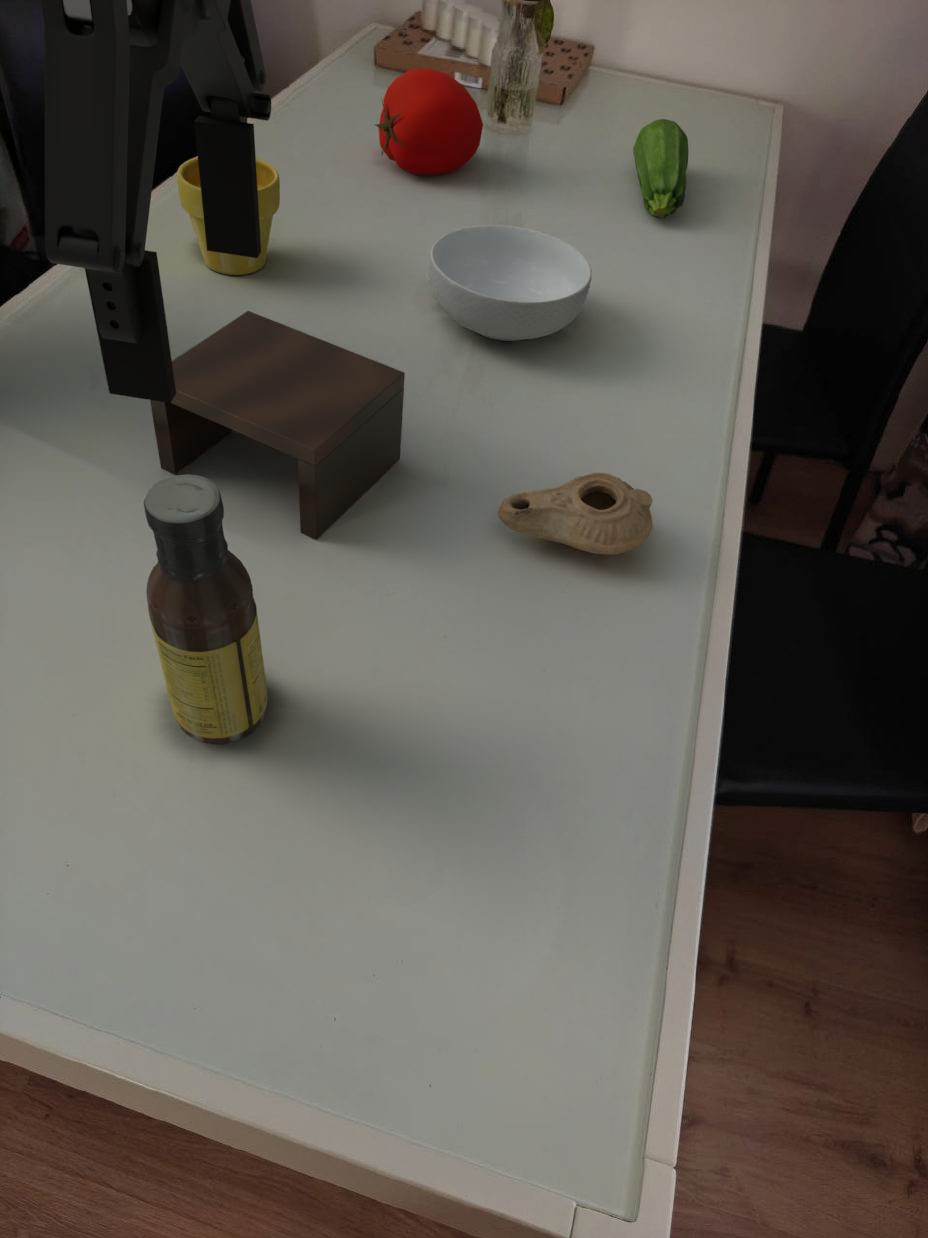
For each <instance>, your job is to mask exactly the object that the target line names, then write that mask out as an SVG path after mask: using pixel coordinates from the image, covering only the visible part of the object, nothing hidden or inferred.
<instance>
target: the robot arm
mask: <svg viewBox="0 0 928 1238" xmlns="http://www.w3.org/2000/svg"><path fill="white" fill-rule="evenodd" d="M40 4H41V11H42V19H43V26H44V31H43V32H44V34H43V35H44V40H43V41H44V44H43V45H44V250H45V255H46V258H47V260H48V262H50V263H51V264H55V265H62V266H68V267H69V266H70V267H74V268H81V269H84V272H85V277H86V281H87V286H88V292H89V297H90V302H91V307H92V313H93V317H94V323H95V328H96V332H97V337H98V338H97V339H98V343H99V347H100V353H101V358H102V362H103V368H104V373H105V378H106V383H107V389H108V394H109V395H115V396H121V397H127V398H128V397H129V398H133V399H135V398H136V399H140V400H148V401H150V400H153V401H160V402H166V403H171V402H172V400H173V398H174V397H175V395H176V388H175V381H174V373H173V366H172V361H173V360H172V352H171V346H170V339H169V331H168V330H169V329H168V324H167V315H166V309H165V302H164V295H163V287H162V280H161V273H160V267H159V260H158V254H157V251H152V250H146V244H147V242H146V241H147V234H148V226H149V217H150V209H151V200H152V193H153V192H152V191H153V185H154V184H153V183H154V174H155V167H156V166H155V165H156V159H157V157H156V156H157V149H158V148H157V147H158V143H159V142H158V141H159V132H160V125H161V124H160V123H161V118H162V117H161V115H162V109H163V100H164V99H163V98H164V91H165V89H166V87H168V86H169V85H172V84H173V83H175V81H176V80H177V79H178V77H179V74H180V68H181V69H182V71H183V73H184V75H185V77H186V79H187V81H188V83H189V86H190V87H191V89H192V90H191V91H192V92H193V94H194V96H195V98H196V100H197V102H198V104H199V106H200V108H201V110H202V112H207V113H210V116H211V117H210V116H203V115H198V116H197V118H196V119H195V120H194V121H193V125H194V133H195V135H194V136H195V145H196V154H197V157H198V165H199V175H200V185H201V195H202V205H203V215H204V225H205V235H206V245H207V251H213V252H219V253H226V254H233V255H239V256H246V257H252V258H258V256H259V255H260V253H261V240H260V223H259V206H258V189H257V172H256V158H257V156H256V140H255V124H254V123H250V122H248V119H252V120H253V119H254V120H261V121H269V120H270V118H271V114H272V97H271V94H265V93H259V92H263V91H264V88H265V85H266V83H267V72H266V67H265V63H264V59H263V54H262V50H261V45H260V40H259V39H260V38H259V33H258V29H257V24H256V21H255V15H254V10H253V4H252V0H40ZM242 57H243V58H242Z"/></svg>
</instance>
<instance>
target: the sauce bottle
mask: <svg viewBox="0 0 928 1238" xmlns="http://www.w3.org/2000/svg"><path fill="white" fill-rule="evenodd" d="M143 509H144V515H145V518H146V521H147V525H148V527H149V528H150V530H151V531H152V532H153V537H154V541H155V546H156V557H157V558H156V559H157V563H156V564H155V565H154V566H153V567H152V569H151V571H150V573H149V576H148V579H147V582H146V601H147V611H148V616H149V620H150V626H151V629H152V633H153V637H154V641H155V646H156V649H157V653H158V658H159V661H160V665H161V670H162V674H163V678H164V682H165V685H166V690H167V694H168V699H169V704H170V707H171V711H172V714H173V717H174V718H175V720H176V722H177V723H178V725H179V728H180V730H181V731H183V733H184V734H185V735H187V736H189V737H190V738H192V739H194V740H197V741H199V742H201V743H205V744H211V745H224V744H229V743H233V742H238V741H240V740H242V739H244V738H246V737H248V736H251V735H253V733H254V732H256V731H257V729H258V728H259V727H260V726H261V724H262V722H263V720H264V719H265V716H266V713H267V708H268V699H269V698H268V697H269V696H268V688H267V687H268V686H267V681H266V680H267V679H266V672H265V663H264V657H263V649H262V641H261V640H262V639H261V632H260V625H259V624H260V623H259V615H258V607H257V604H256V600H255V598H254V589H253V584H252V580H251V576H250V575H249V574H250V573H249V572H248V570H247V568H246V567H245V565H244V564H243V562H242V561H241V560H240V559H239V558H238V557H237V556H236V555H235V554H234V553H233V552H231V551H230V550H229V544H228V542H227V540H226V538H225V533H224V527H223V519H224V515H225V508H224V504H223V499H222V494H221V491H220V489H219V487H218V486H217V485H216V484H215V483H214V482H213V481H211V480H210V479H209V478H207V477H205V476H201V475H197V474H176V475H173V476H169V477H165V478H162V479H161V480H159V481H157V482H155V483H154V484H153V485H152V486H151V487H150V488H149V489H148V490H147V493H146V495H145V497H144V499H143Z"/></svg>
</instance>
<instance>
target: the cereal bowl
mask: <svg viewBox="0 0 928 1238" xmlns="http://www.w3.org/2000/svg"><path fill="white" fill-rule="evenodd" d="M428 270H429V271H428V272H429V273H428V277H429V284H430V288H431V291H432V295H433V296H434V300H435V301H436V302H437V304H438V306H440V309H441V310H443V311H444V313H445V314H447V316H449V318H451V319H452V320H453V321H455V322H456V323H457V324H459V325H461V326H462V327H463V328H466V329H468V330H470V331H473V332H475V333H476V334H479V335H481V336H483V337H485V338H488V339H490V340H494V341H502V342H518V341H522V340H533V339H539V338H542V337H545V336H550V335H553V334H555V333H556V332H558V331H561V330H562V329H564V328H566V326H568V325H569V324H570V323H571V322H573V321H574V320H575V318H576V317H577V316H578V315H579V313H580V312H581V310H582V309H583V307H584V305H585V302H586V300H587V297H588V294H589V292H590V288H591V282H592V280H593V279H592V268H591V265H590V262H589V261H588V259H587V258H586V257H585V255H584V254H583V253H581V252H580V251H579V250H578V249H577V248H575V247H574V246H572V245H571V244H569V243H568V242H566V241H564V240H562V239H560V238H558V237H556V236H554V235H551V234H548V233H546V232H543V231H539V230H536V229H531V228H526V227H521V226H514V225H507V224H506V225H505V224H504V225H502V224H482V225H472V226H465V227H461V228H458V229H454V230H451V231H449V232H447V233H445V234H443V235H442V236H440V237H439V238H437V240H435V242H434V243H433V244H432V246H431V248H430V252H429V259H428Z"/></svg>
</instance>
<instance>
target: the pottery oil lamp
mask: <svg viewBox="0 0 928 1238" xmlns="http://www.w3.org/2000/svg"><path fill="white" fill-rule="evenodd" d="M653 499H654V498H653V497H652V495H651V494H650V493H649V491H646V490H643V489H640V488H634V487H632V486H631V485H630V484H629V483H628V482H626V481H624V480H622V479H621V478H620V477H617V476H615V475H614V474H611V473H608V472H607V473H606V472H591V473H588V474H585V475H582V476H581V475H580V476H579V475H578V476H577V477H574V478H572V479H571V480H569V481H567V482H566V483H563V484H562V485H559V486H556V487H552V488H546V489H539V490H534V491H533V490H532V491H527V492H525V491H524V492H519V493H515V494H512V495H509V496H507V497H506V498H504V499H503V500H502V502H501V504H500V506H499V508H498V510H497V516H498V518H499V520H500V521H501V522H502V524H503V525H504V527H506V528H508V529H509V530H511V531H513V532H516V533H519V534H521V535H524V536H529V537H533V538H536V539H542V540H545V541H551V542H554V543H559V544H563V545H566V546H569V547H570V548H572V549H574V550H577V551H581V552H585V553H591V554H594V555H595V554H596V555H618V554H619V555H620V554H623V553H628V552H630V551H632V550H635V549H637V548H639V547H640V546H641V545H643V544H644V542H645V541H646V540H647V539H648V538H649V536H650V534H651V532H652V529H653V526H654V525H653V518H652V517H653V516H652V513H651V510H650V508H651V506H652V504H653V501H654V500H653Z"/></svg>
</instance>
